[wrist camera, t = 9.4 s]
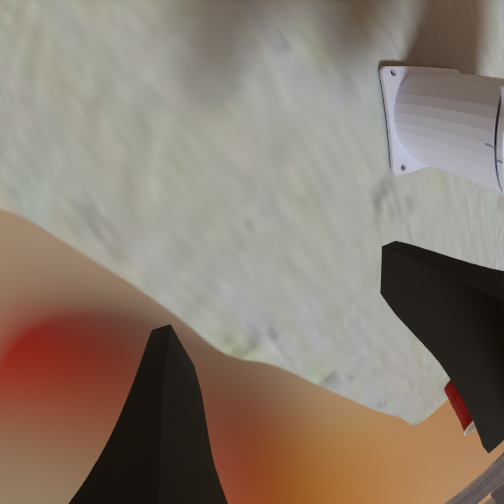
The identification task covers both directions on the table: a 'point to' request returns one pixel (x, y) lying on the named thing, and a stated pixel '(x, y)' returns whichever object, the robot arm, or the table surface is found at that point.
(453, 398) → the plastic cup
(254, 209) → the table surface
